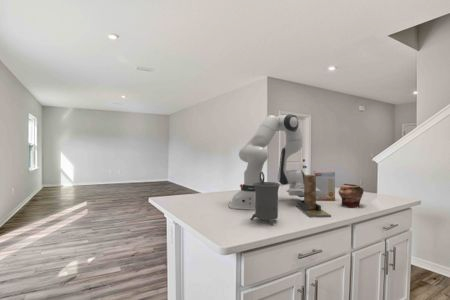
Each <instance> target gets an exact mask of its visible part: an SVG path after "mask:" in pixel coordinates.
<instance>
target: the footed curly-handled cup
mask: <svg viewBox="0 0 450 300" xmlns="http://www.w3.org/2000/svg"><path fill="white" fill-rule="evenodd" d="M259 178H260V182H256V183H254V184H253V185H254V187H255V210H254V213H253V214H252V216H251V217H250V220H254V219H255V218H256V219H258V220H264V221H269V223H270V225H271V227H274V220H277V219H279V216H278V215H279V200H278V199H279V197H278V196H279V188H280V186H281V183H280V182H275V181H265V174H264V171H262V172H260V176H259Z"/></svg>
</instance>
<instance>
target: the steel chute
mask: <svg viewBox="0 0 450 300" xmlns="http://www.w3.org/2000/svg"><path fill="white" fill-rule="evenodd" d="M295 207H296V208H297V209H298V210H299V211H300V212H302V213H303V214H304V215H306V216H307V217H309V218H332V215H331V214H330V213H328V212H326V210H323V209H322V205H320V204H318V203H317V202H316V209H309V206H308V205H307V204H305V203H304V199H300V200H299V199H298V204H295Z"/></svg>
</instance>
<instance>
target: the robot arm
mask: <svg viewBox="0 0 450 300" xmlns="http://www.w3.org/2000/svg"><path fill="white" fill-rule="evenodd" d="M278 131H279V132H280V131H281V132H284V134H285V145H284V147H283V148H282V149H281V153H280V160H279V169H278V174H277V181H278V183H279V184H280V185H283V186H284V185H289V186H288V189H286V191H285V192H287V194H288V195H289V196H292V197H293V196H295V197H296V196H297V197H298V198H304V175H306V174H305V173H304V171H303V170H301V169H300V168H297V169H288V170H287V162H288V158H289V157H291V156H292V155H294V154H297V153H298V152H299V151H300V150H301V149H302V147H303V135H302V129H301V126H300V125H299V119H298V117H297V116H296V115H295V114H280V115H273V114H270V115H268V116H266V117H265V118H264V119H263V121H262V122H261V124H260V125H259V126H258V129H257V131H256V132H255V134H254V135H253V136H252V137H251V139H249V141H248V142H247V143H246V144H245V145H244V146H243V147H241V148H240V150H239V152H238V156H239V159H240V160H241V161H242V162H245V163H247V165H246V169H245V170H244V172H243V183H240V184H239V187H240V190H239V191H238V192H236V193H235V194H234V195H233V196H232V200H231V202H230V203H228V207H229V208H230V209H232V210H233V209H234V210H250V211H251V210H252V211H253V210H254V211H255V187H254V185H253V184H254V183H256V182H260V178H259V176H260V172H263V168H264V164H265V163H266V162H267V160H268V158H269V153H268V152H269V151H268V150H267V149H266V148H265V147H268V145H269V144H271V141H272V140H273V138H274V136H275V134H276V132H278ZM316 196H320V190H319V189H317V188H316Z"/></svg>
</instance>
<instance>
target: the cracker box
mask: <svg viewBox="0 0 450 300" xmlns="http://www.w3.org/2000/svg"><path fill="white" fill-rule="evenodd" d="M312 173H313V174H312V175H314V176H316V188H317V189H319V190H320V196H316V201H329V202H330V201H336V171H331V170H330V171H327V170H321V171H320V170H317V171H316V170H315V171H312Z"/></svg>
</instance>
